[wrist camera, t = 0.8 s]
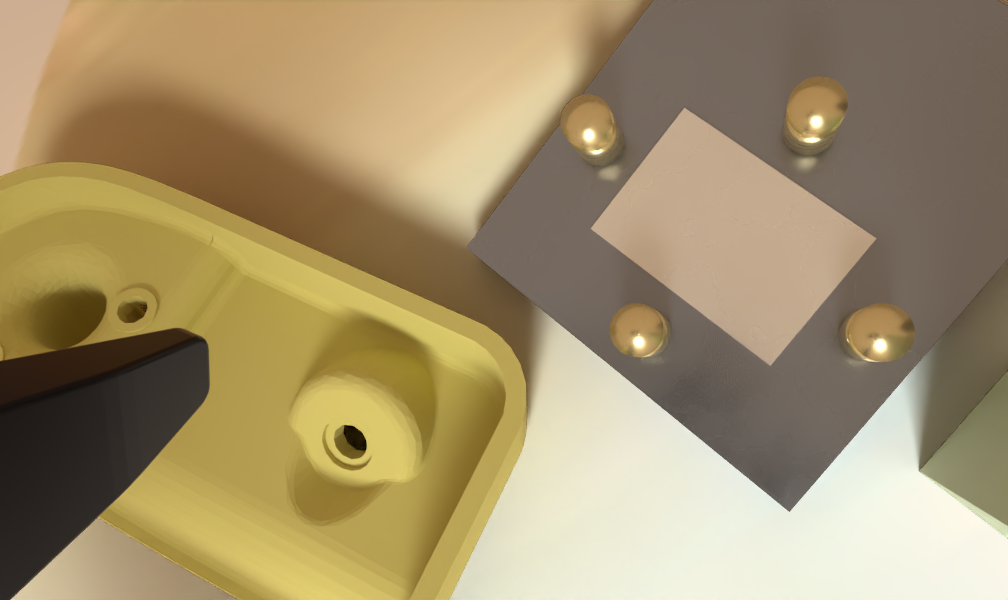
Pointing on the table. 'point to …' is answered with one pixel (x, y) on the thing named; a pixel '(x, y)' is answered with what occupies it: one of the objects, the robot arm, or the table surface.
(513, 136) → the table surface
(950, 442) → the board block
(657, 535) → the table surface
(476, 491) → the plastic component
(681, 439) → the table surface
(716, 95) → the chassis
